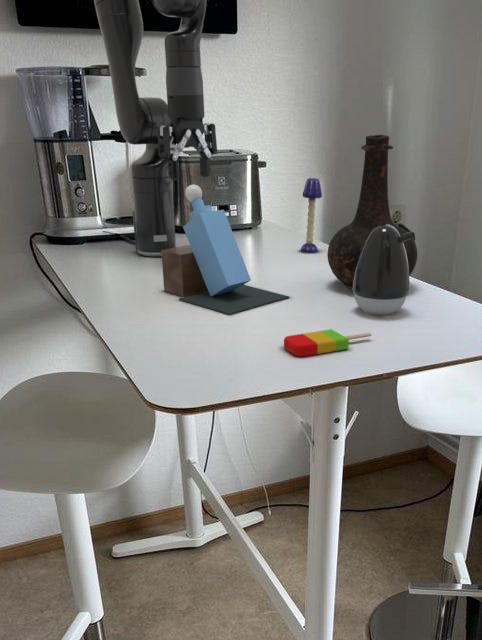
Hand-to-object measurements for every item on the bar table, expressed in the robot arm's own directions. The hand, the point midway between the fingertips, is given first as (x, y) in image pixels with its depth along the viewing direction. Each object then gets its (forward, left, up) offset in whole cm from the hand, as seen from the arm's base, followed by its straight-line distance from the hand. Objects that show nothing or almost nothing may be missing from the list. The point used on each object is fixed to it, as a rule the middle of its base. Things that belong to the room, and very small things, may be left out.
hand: (190, 178), depth 151 cm
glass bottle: (+41, +12, -18) cm, 46 cm away
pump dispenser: (+53, -1, -18) cm, 56 cm away
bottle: (+23, -14, -18) cm, 32 cm away
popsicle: (+59, -22, -18) cm, 66 cm away
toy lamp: (+10, +29, -18) cm, 36 cm away
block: (+17, -14, -18) cm, 28 cm away
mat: (+28, -14, -18) cm, 36 cm away
